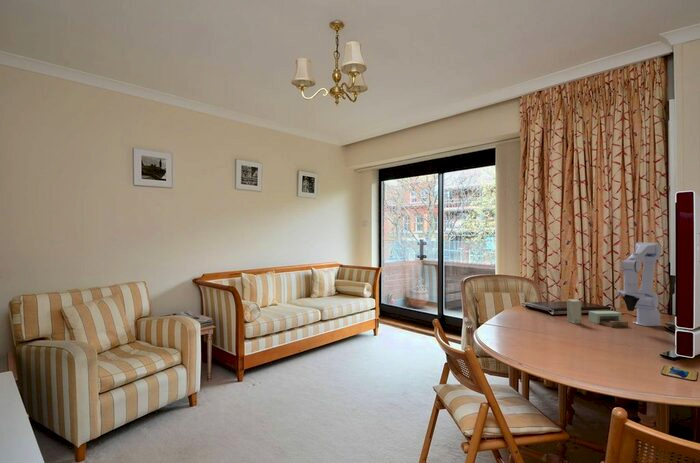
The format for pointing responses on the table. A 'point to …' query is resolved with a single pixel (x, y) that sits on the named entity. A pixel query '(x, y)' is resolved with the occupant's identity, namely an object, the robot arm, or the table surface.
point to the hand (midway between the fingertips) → (630, 310)
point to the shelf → (603, 316)
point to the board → (613, 323)
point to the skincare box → (574, 311)
